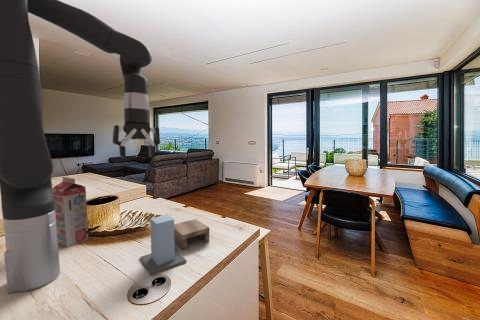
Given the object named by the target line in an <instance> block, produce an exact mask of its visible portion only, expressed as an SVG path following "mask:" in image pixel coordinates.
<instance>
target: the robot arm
mask: <svg viewBox="0 0 480 320" xmlns="http://www.w3.org/2000/svg"><path fill="white" fill-rule="evenodd" d="M29 14H31V15H33V16H36V17H37V18H40V19H42V20H45V22H48V23H51V24H53V25H55V26H56V27H59V28H61V29H63V30H65V31H66V32H69V33H70V34H72V35H75V36H76V37H78V38H80V39H81V40H84V41H85V42H86V43H88V44H91V45H92V46H93V47H95V48H98V49H99V50H100V51H103V52H105V53H107V54H116V55H119V64H120V69H121V73H122V77H123V80H124V83H123V85H124V88H123V90H124V91H123V93H124V96H123V118H124V121H123V125H117V124H116V125H115V124H114V125H113V127H112V144H114V145H117V146H118V147H119V156H120V157H121V158H122V159H126V155H127V154H126V146H125V145H126V144H127V143H128V142H129V141H130V140H145V142H146V143H147V144H148V145H149V146H148V157H149V158H153V156H155V146H158V145H160V144H161V137H160V136H161V135H160V134H161V133H160V128H159V127H158V126H156V127H151V126H150V101H149V84H148V83H149V82H148V80H147V78H146V77H145V76H144V75H142V68H146V67H147V66H149V65H151V63H152V60H153V59H152V57H153V56H152V53H151V50H150V49H149V48H148V46H146V45H145V44H144V43H143V42H141V41H140V40H138V39H135V38H133V37H131V36H130V35H127V34H125V33H122V32H120V31H118V30H116V29H115V28H113V27H112V26H110V25H109V24H107V23H105V22H104V21H102V20H101V19H100V18H98V17H96V16H94V15H93V14H91V13H90V12H87V11H85V10H83V9H81V8H78V7H76V6H74V5H70V4H68V3H66V2H63V1H61V0H0V201H1V203H0V204H1V214H2V221H3V222H2V223H3V233H4V240H5V241H4V243H5V252H4V255H3V256H4V266H5V267H4V269H5V275H6V276H5V278H6V285H7V294H11V293H14V292H15V293H16V292H26V291H30V290H31V291H32V290H34V289H37V288H38V289H39V288H41V287H43V286H45V285H47V284H49V283H51V282H53V281H54V280H55V279H56V278H58V276H59V275H60V274H61V268H60V266H61V264H60V255H59V253H60V252H59V244H58V239H57V226H56V213H55V200H54V196H53V190H52V188H53V184H52V183H53V182H52V174H53V172H54V162H53V160H52V157H51V154H50V153H51V152H50V150H49V147H48V143H47V139H46V136H45V132H44V125H43V98H42V95H43V94H42V83H41V77H40V76H41V75H40V68H39V64H38V58H37V54H36V48H35V43H34V38H33V35H32V34H33V33H32V30H31V25H30V20H29ZM122 130H123V132H124V133H125V135H124V136H123V138H122V139H121V140H120V141H119V133H121V132H122ZM150 132H151V133H152V134H153V139H152V138H151V136H150V135H149V134H150Z"/></svg>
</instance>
